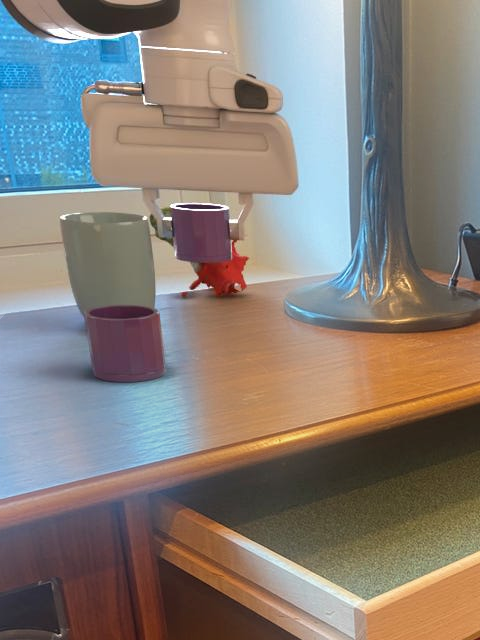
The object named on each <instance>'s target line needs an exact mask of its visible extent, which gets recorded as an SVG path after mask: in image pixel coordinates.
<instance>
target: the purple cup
mask: <svg viewBox="0 0 480 640" xmlns="http://www.w3.org/2000/svg"><path fill="white" fill-rule="evenodd" d="M169 207H170V212H171V220H172V231H173V243H174V247H173V252H174V257H175V259H176V260H177V261H182V262H188V263H190V262H196V263H218V262H226V261H230V260H232V245H231V243H232V240H230V229H229V221H230V220H231V217H230V207H229V206H226V205H223V204H222V205H221V204H213V203H198V202H192V203H189V202H187V203H186V202H185V203H174V204H171V205H170V206H169Z"/></svg>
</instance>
